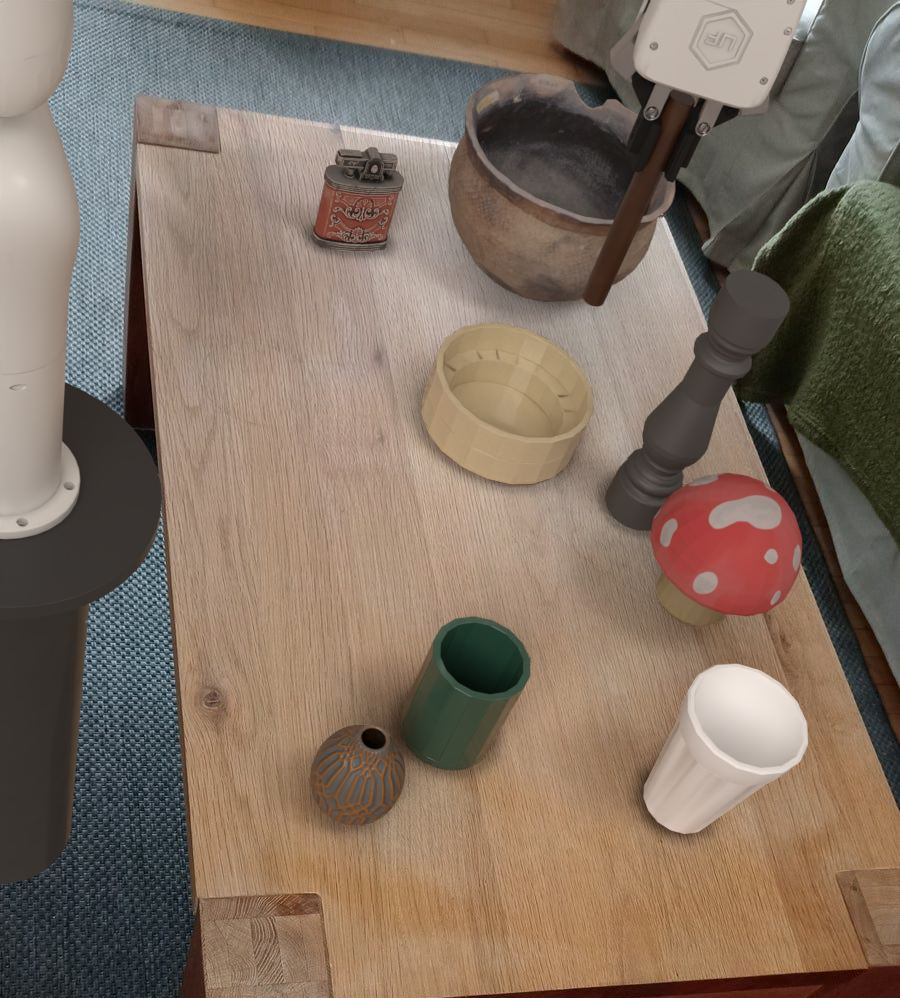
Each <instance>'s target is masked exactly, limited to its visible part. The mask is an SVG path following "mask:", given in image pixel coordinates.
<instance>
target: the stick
mask: <svg viewBox="0 0 900 998" xmlns="http://www.w3.org/2000/svg"><path fill="white" fill-rule="evenodd" d="M695 101H696V99H695V98H694V96H693V95H690V94H687V93H684V92H681V91H678V90H675V89H671V91H670V93H669V95H668V97H667V100H666V102H665V104H664V106H663V109H662V111H663V113H662V115H661V122H662V127H661V131H660V133H659V135H658V137H657V140H656V142H655V144H654V146H653V149H652V151H651V153H650V156H649V158H648V160H647V162H646V165H645V167H644V169H643V171H640V172H639V173H638V172H635V173H634V175H633V178H632V180H631V182H630V185H629V187H628V189H627V192H626V194H625V196H624V198H623V201H622V203H621V205H620V208H619V210H618V212H617V214H616V217H615V219H614V221H613V224H612V226H611V228H610V231H609V233H608V235H607V237H606V240H605V242H604V244H603V247H602V249H601V251H600V254H599V256H598V258H597V260H596V263H595V265H594V267H593V270H592V272H591V274H590V276H589V279H588V281H587V283H586V286H585V288H584V290H583V293H582V298H583V299H582V300H583V301H584V302H585V303H586V304H587V305H589V306H592V307H595V308H597V307H598V308H599V307H602V306H603V305H604V304H605V302H606V300H607V297H608V295H609V293H610V291H611V289H612V286H613V285H612V284H613V282H614V280H615V278H616V275H617V273H618V271H619V269H620V267H621V265H622V262H623V260H624V258H625V256H626V254H627V251H628V249H629V247H630V245H631V243H632V240H633V238H634V236H635V234H636V232H637V229H638V227H639V225H640V223H641V221H642V218H643V216H644V214H645V212H646V210H647V207H648V205H649V203H650V201H651V199H652V196H653V194H654V192H655V190H656V188H657V186H658V183H659V181H660V179H661V177H662V175H663V172H664V170H665V168H666V166H667V164H668V161H669V159H670V157H671V155H672V153H673V150H674V148H675V146H676V144H677V142H678V139H679V137H680V135H681V133H682V131H683V128H684V126H685V124H686V122H687V120H688V117H689V115H690V113H691V111H692V109H693V107H694V104H695Z"/></svg>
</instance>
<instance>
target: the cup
mask: <svg viewBox="0 0 900 998" xmlns="http://www.w3.org/2000/svg"><path fill="white" fill-rule="evenodd" d="M808 729H809V727H808V722H807V720H806V717H805V715H804V713H803V711H802V708H801V706H800V704H799V702H798V701H797V700H796V698H795V697H794V696H793V695H792V694H791V693H790V692H789V690H788V689H787V688H786V687H785V686H784V685H783V684H782V683H781V682H779V681H778V680H776V679H775V678H773V677H771V676H770V675H769V674H767V673H765V672H763V671H762V670H760V669H757V668H754V667H750V666H748V665H747V666H746V665H743V664H740V663H724V664H714V665H712V666H710V667H708V668H706V669H705V670H703V671H701V672H699V673H697V675H696V677H695V678H694V679H693V682H692V683H691V685H690V687H689V688H688V690H687V692H686V693H685V696H684V698H683V700H682V701H681V703H680V710H679V714H678V716H677V718H676V721H675V722H674V724H673V726H672V728H671V730H670V733H669V734H668V736H667V738H666V740H665V742H664V745H663V746H662V748H661V751H660V752H659V755H658V756H657V758H656V760H655V763H654V765H653V767H652V769H651V771H650V773H649V775H648V777H647V779H646V781H645V783H644V784H643V797H642V798H643V800H644V803H645V805H646V808H647V811H648V812H649V814H650V815H651V817H653V818H654V819H655V821H656V822H657V823H658V824H660V825H662V826H663V827H665V828H666V829H668V830H669V831H672V832H675V833H679V834H683V835H686V834H687V835H688V834H696V833H699V832H700V831H702V830H705V828H707V827H708V826H710V825H711V824H713V823H714V822H715V821H716V820H718V819H720V818H721V817H723V816H724V815H725V814H727V813H728V812H729V811H732V809H733V808H735V807H737V806H738V805H739V804H741V803H743V802H744V801H745V800H746V799H748V798H750V797H751V796H752V795H754V794H755V793H756V792H758V791H759V790H761V789H763V787H765V786H766V785H768V784H769V783H772V782H774V781H776V780H777V779H778V778H781V777H782V776H783V775H785V774H787V773H788V772H789V771H791V770H792V769H793V768H794V767H796V766H797V765H799V764H800V762H801V761H802V759H803V756H804V755H805V752H806V750H807V748H808V746H809V730H808Z"/></svg>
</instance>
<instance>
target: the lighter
mask: <svg viewBox="0 0 900 998" xmlns="http://www.w3.org/2000/svg"><path fill="white" fill-rule="evenodd" d="M398 162H399V158H398V156H397V154H395V153H389V152H379V150H378V147H375V146H369V147H367V148H366V149H365V150H364V151H362V150H360V149H348V148H340V149H338V150H337V151H336V155H335V158H334V163H335V164H329V165H327V166H326V167H325V170H324V173H323V174H324V175H323V180H324V183H323V187H322V190H321V191H322V192H321V197H320V202H319V204H318V205H319V206H318V209H317V210H318V211H317V213H316V218H315V223H314V224H313V226H312V230H311V233H310V240H311V242H312V243H313V244H314V245H315V246H317V247H318V248H321V249H326V250H332V251H337V252H349V253H370V252H379V251H383V250H385V249H386V248H387V244H388V242H389V241H388V240H389V235H388V234H389V231H390V227H391V223H392V220H393V217H394V212H395V209H396V206H397V202H398V198H399V195H400V192H401V191H402V190H403V187H404V184H405V177H404V176H403V174H402V173H400V171H398V170H397V166H398Z"/></svg>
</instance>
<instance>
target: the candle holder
mask: <svg viewBox="0 0 900 998" xmlns="http://www.w3.org/2000/svg"><path fill="white" fill-rule="evenodd" d="M790 307H791V300H790V298H789V296H788V294H787V292H786V291H785V290H784V289H783V287H782V286H781V285H780V284H779V283H778V282H776V281H775V280H773V279H772V278H771V277H769V276H768V275H765V274H763V273H761V272H758V271H756V270H751V269H743V268H741V269H737V270H733V271H731V272H730V273H729V274H728V275H727V276H726V278H725V279H724V281H723V283H722V285H721V287H720V289H719V290H718V293H717V294H716V296H715V298H714V299H713V302H712V303H711V305H710V307H709V311H708V318H707V323H706V325H707V331H704V332H701V333H700V334H699V335H698V336H697V337H696V338H695V339H694V345H693V351H692V352H693V354H694V359H693V360H692V362H691V363H690V365H689V367H688V369H687V371H686V373H685V374H684V376H683V378H682V380H681V381H680V382H679V383H678V384H677V385H676V386H675V387H674V388H673V389H672V391H671V392H670V393H669V394H668V395H667V396H665V398H663V400H662V401H661V402H660V403H659V404H658V405H657V406H656V407H655V408H654V409H653V410H652V411H651V412H650V413H649V414H648V416H647V417H646V418H645V421H644V423H643V429H642V435H641V437H642V447H640V448H637V449H634V450H633V451H632V452H631V454H630V455H628V457H627V458H626V460H625V461H624V462H623V463H622V464H621V465H620V466H619V467H618V469H617V471H616V472H615V475H614V477H613V478H612V480H611V482H610V484H609V486H608V487H607V489H606V491H605V497H604V502H605V504H606V508H607V510H608V511H609V513H610V514H611V515H612V517H613V518H614V519H615V520H616V521H617V522H619V523H620V524H622V525H623V526H624V527H626V528H629V529H633V530H634V531H640V532H641V531H643V532H651V529H652V522H653V518H654V517H655V515H656V514H657V512H658V511H659V509H660V508H661V506H662V505H663V504H664V502H665V501H666V500H667V498H668V497H669V496H670V495H671V494H673V493H674V492H675V491H676V490H678V489H680V488H681V487H683V486H684V485H683V483H684V478H685V477H684V473H683V471H684V470H685V469H686V468H689V467H691V466H693V465H695V464H696V463H697V462H699V461H700V459H701V458H702V457H703V456H704V455H705V454H706V452H707V450H708V449H709V447H710V442H711V439H712V435H713V432H714V428H715V424H716V421H717V417H718V415H719V411H720V409H721V404H722V401H724V398H725V396H726V395H727V393H728V391H729V390H730V388H731V386H732V385H733V383H734V381H735V380H739V379H742V378H744V377H745V376H746V375H747V374H748V373H749V371H750V370H751V369H752V363H753V359H752V356H753V355H755V354H758V353H759V352H760V351H761V350H762V349H763V348H766V347H767V346H768V344H769V343H770V342H772V340H773V338H774V336H775V335H776V333H777V331H778V330H779V328H780V326H781V325H782V323H783V322H784V320H785V318H786V317H787V315H788V314H789V312H790Z"/></svg>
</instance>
